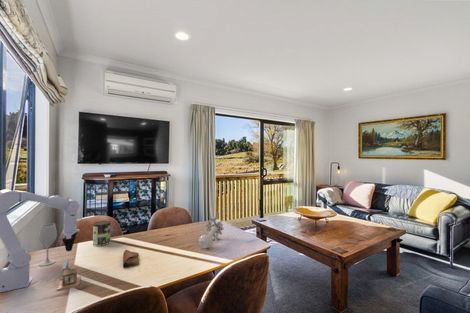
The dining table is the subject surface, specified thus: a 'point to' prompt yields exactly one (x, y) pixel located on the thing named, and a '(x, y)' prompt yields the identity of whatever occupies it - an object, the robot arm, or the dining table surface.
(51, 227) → the wineglass
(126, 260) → the sunglasses case
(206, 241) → the flower vase
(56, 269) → the dining table surface
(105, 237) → the coffee can
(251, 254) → the dining table surface
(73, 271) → the brown cube
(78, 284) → the coaster
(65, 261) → the grey block with tabs
